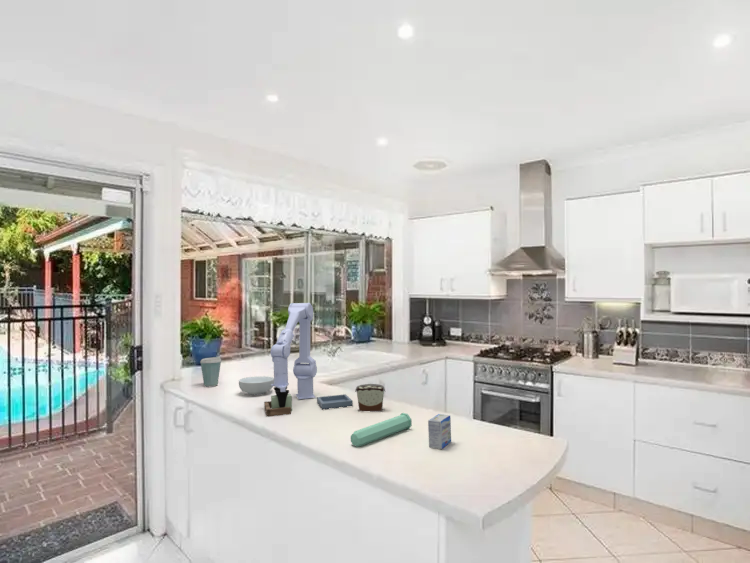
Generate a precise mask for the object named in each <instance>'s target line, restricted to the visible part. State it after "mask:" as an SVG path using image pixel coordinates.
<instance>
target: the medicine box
mask: <svg viewBox="0 0 750 563" xmlns="http://www.w3.org/2000/svg"><path fill="white" fill-rule="evenodd" d="M427 423H428V424H427V426H428V427H427V428H428V429H427V431H428V446H429V448H432V449H437V450H443V449H444V448H445V447H447V446H448V445H449V444H450V443H452V430H451V429H452V426H451V425H452V424H451V423H452V422H451V415H450V414H449V415H448V414H443V413H438V414H437V415H435V416H433V417H432V418H429V419H428V421H427Z"/></svg>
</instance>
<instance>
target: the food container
mask: <svg viewBox="0 0 750 563" xmlns="http://www.w3.org/2000/svg"><path fill="white" fill-rule="evenodd" d="M355 387H356V388H355V392H356V396H357V404H358V412H359V411H370V413H371V412H372V413H373V412H375V413H376V412H377V413H378V412H379V413H381V412H383V408H384V407H383V406H384V405H383V404H384V394H385V392H386V388H385V386H384V385H383V384H379V383H365V384H364V383H363V384H360V385H357V386H355ZM355 392H354V393H355Z"/></svg>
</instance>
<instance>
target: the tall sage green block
mask: <svg viewBox="0 0 750 563" xmlns="http://www.w3.org/2000/svg"><path fill="white" fill-rule="evenodd" d="M270 401H271V408H270V409H274V408H280V407H279V402H278V397H277V395H276V394H273V395H270ZM285 407H291V412H292V411H293V397H292V395H291V393H288V395H287V398H286V404H285ZM281 408H284V407H281Z"/></svg>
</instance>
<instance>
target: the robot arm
mask: <svg viewBox="0 0 750 563" xmlns="http://www.w3.org/2000/svg"><path fill="white" fill-rule="evenodd" d="M287 312H288V318H287V322H286V326H285V328H284V329H282V330H281V332H280V333H279V336H278V337H277V340H276V343H275V344H273V345H272V346H271V349H270V356H271V358H272V359H271V361H272V363H273V378H274V384H271V386H273V390H274V393H275V395H277V397H278V402H279V407H280V408H281V407H285V404H286V398H287V395H288V394H290V390H289V389H288V386H289V369H288V368H289V366H288V364H289V363H288V362H289V361H288V360H289V359H288V358H289V357H290V355H291V348H292V346H291V344H292V341H293V339H294V337H295V334H294V330H295V328H296V326H297V324H298V323H299V342H298V343H299V348H298V350H299V352H298V358H296V359H295V360H294V364H293V369H292V373H293V375H294V377H295V378H296V379H297V380H296V382H297V393H295V396H296V398H297V400H305V399H306V400H307V399H314V398H315V399H317V397H316V395H315V394H314V378H315V377H316V376H317V372H318V367H317V362H316V360H315V359H314V358H313V357H312V356H311V322H312V321H313V320H314V306H312V304H311V302H299V303H298V302H295V303H294V302H291V303H290V304H289V306H288V309H287Z"/></svg>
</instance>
